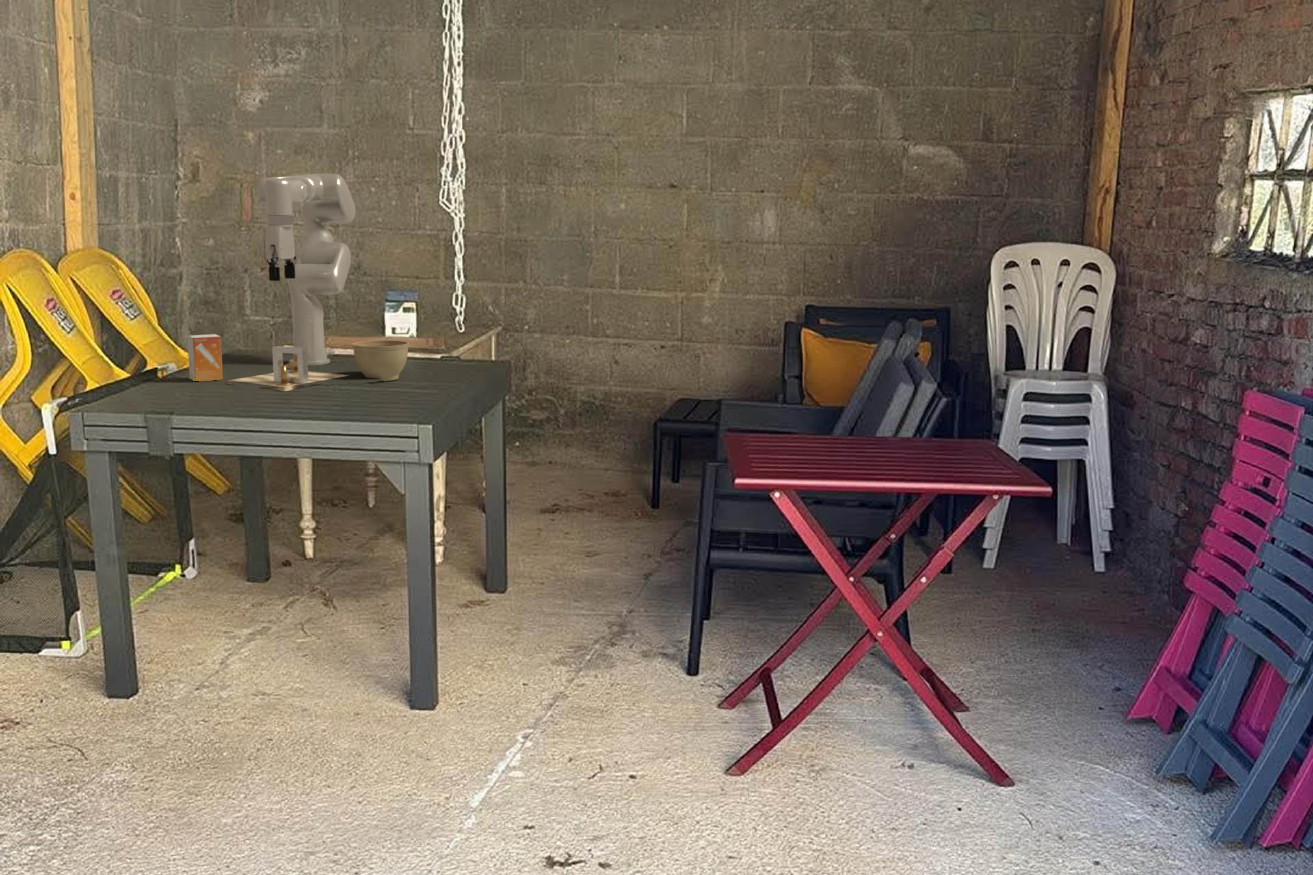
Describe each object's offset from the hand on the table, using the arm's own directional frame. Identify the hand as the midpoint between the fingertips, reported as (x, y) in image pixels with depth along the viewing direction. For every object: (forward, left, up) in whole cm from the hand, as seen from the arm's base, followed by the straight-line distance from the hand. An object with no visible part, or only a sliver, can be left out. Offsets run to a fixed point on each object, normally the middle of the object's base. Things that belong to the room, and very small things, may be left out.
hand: (282, 279), depth 382 cm
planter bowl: (-6, +32, -28) cm, 43 cm away
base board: (+12, +13, -28) cm, 33 cm away
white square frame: (+18, +20, -27) cm, 38 cm away
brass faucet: (+12, +14, -27) cm, 33 cm away
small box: (+22, -10, -28) cm, 37 cm away
